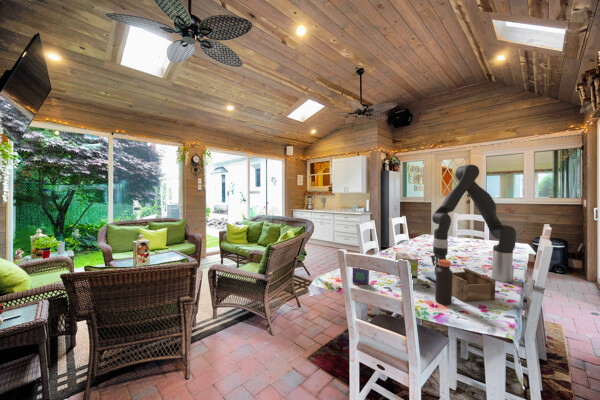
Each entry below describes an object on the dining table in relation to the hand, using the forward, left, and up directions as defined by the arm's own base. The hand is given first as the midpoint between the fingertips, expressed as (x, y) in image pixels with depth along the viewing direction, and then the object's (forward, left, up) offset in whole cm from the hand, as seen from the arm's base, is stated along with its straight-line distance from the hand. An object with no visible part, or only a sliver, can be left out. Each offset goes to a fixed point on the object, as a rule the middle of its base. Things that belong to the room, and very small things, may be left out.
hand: (439, 274), depth 148 cm
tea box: (+20, -2, -3) cm, 20 cm away
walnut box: (0, +20, -3) cm, 20 cm away
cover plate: (0, 0, -1) cm, 1 cm away
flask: (+49, +1, -3) cm, 50 cm away
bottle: (+18, +28, -3) cm, 33 cm away
